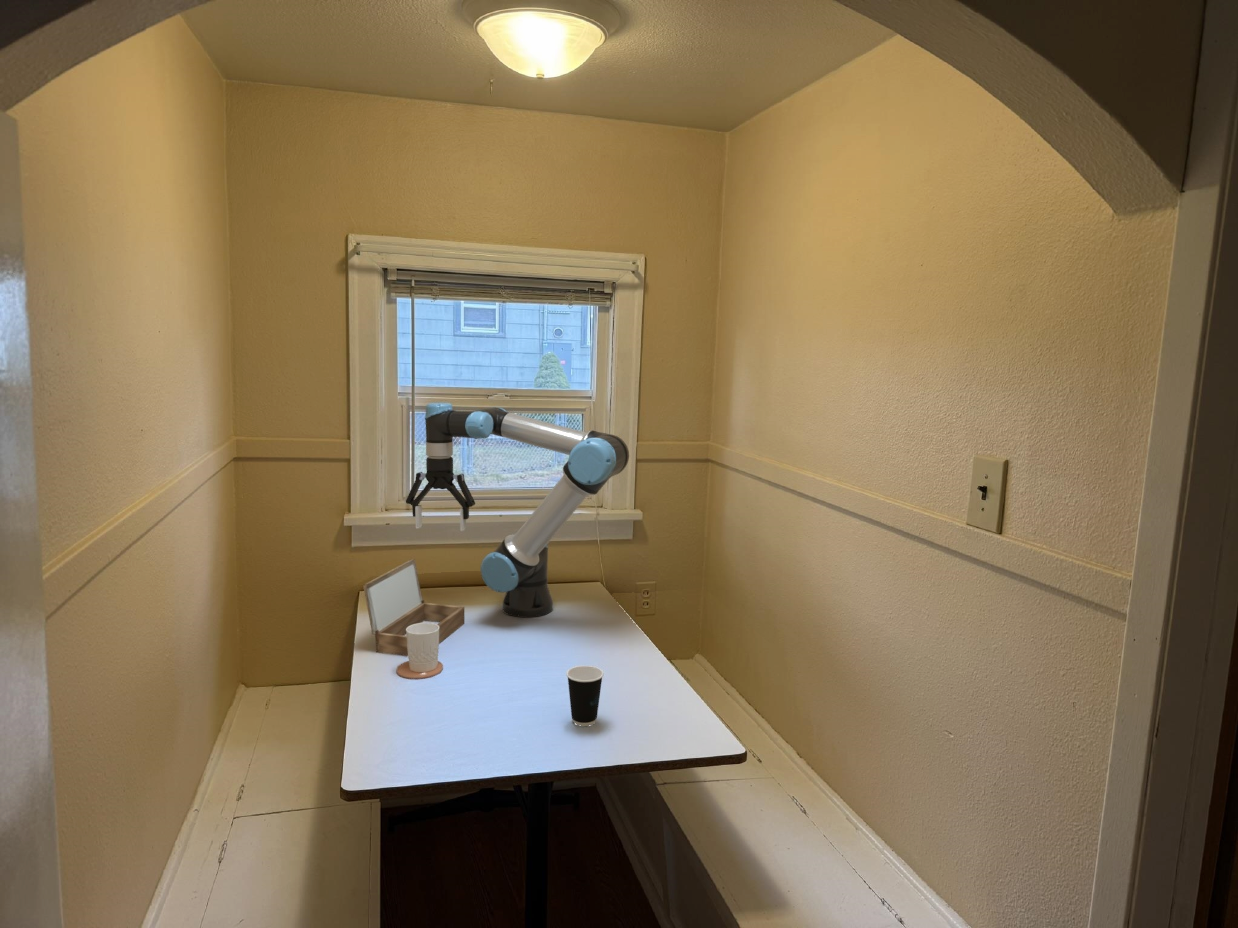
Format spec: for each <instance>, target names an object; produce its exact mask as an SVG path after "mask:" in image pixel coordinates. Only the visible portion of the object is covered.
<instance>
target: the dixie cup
mask: <svg viewBox="0 0 1238 928" xmlns="http://www.w3.org/2000/svg"><path fill="white" fill-rule="evenodd" d="M565 674H566V677H567V684H568V693H569V703H570V705H569V706H570V714H571V719H572V723H573V722H574V723H576V724H577V725H581V726H588V727H590V726H589V725H592V724H594V723H596V720H597V717H598V713H599V706H600V705H599V704H600V697H601V688H602V682H603V681H602V679H603V677H604V674H605V673H604V671H603V670H602V669H601V668H599V667H597V666H594V665H577V666H573V667H571V668H568V669H567V671H566V673H565ZM574 723H573V724H574ZM577 725H576V726H577ZM594 725H595V724H594ZM592 726H593V725H592Z"/></svg>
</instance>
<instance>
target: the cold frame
mask: <svg viewBox="0 0 1238 928" xmlns="http://www.w3.org/2000/svg"><path fill="white" fill-rule="evenodd" d="M424 622H431V623H433V622H434V623H437V625H438V626H439V645H440V644H441V643H442V642H444V641H445V640H446V639H447V638H449V637H450V636H451V635H453V634H454V633H455V632H456V631H457V630H459V629H460V628H461V627H462V626H463V625H465V622H466V621H465V606H459V605H450V604H442V603H441V604H439V603H430V602H425V599H422V603H421V604H420V605H418V606H417V607H415V608H414V609H412V610H411V611H409V612H408V613H406V614H404V615H403V616H401V617H400V618H398V619H397V620H395V621H394V622H392V623H391V624H389V625H388V626H386V627H385V628H383V629H382V630H380V631H379V630H376V631H375V634H374V635H375V636H374V637H375V639H374V640H375V653H379V654H389V655H393V656H394V655H397V656H405V657H408V650H407V636H406V628H407V627H408V626H410V625H413V624H417V623H424Z"/></svg>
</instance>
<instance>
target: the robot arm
mask: <svg viewBox="0 0 1238 928" xmlns="http://www.w3.org/2000/svg"><path fill="white" fill-rule="evenodd" d="M424 421H425V423H424V424H425V456H427V457H426V459H425V460H426V463H425V465H426V467H425V468H426V473H424V472H423V471H419V472H416V473H415V481H414V483H413V485H412V486H411V489H410V490H409V493H408V495H407V497H406V500H405V504H407V505H408V504H409V505H411V508H412V517H413V518H414V517H415V529H420V528H422V527H423V518H422V517H423V516H422V515H423V514H422V513H423V512H422V511H423V510H422V508H423V507H422V504H420V503H421V502H422V500H423V499H424V498H425V497H426V496H427V494H429V492H430V491H431V489H434V490H436V489H437V490H438V489H440V490H447V491H449V492H450V494H451V495H452V496H453V497H454V499H455V500H456V502H457V503H458V504H459V505H460V507H461V508H459V529H460V530H459V531H460V532H464V531H465V530H467V520H468V519H469V518H470V508H471V507H473V506H475V505H476V502H475V499H474V497H473V495H472V493H471V491H470V489H469V487H468V485H467V482H466V481H465V479H466V478H465V475H464V473H458V474H455V473H454V457H452V456H453V455H454V446H453V445H454V443H453V441H454V440H453V439H454V438H464V439H466V438H467V439H474V440H478V439H480V440H481V439H487V438H489V437H490V436H491V435H494V436H497V437H501V438H506V439H509V440H513V441H516V442H520V443H523V444H527V445H529V446H530V445H532V446H535V447H538V448H542V449H546V450H550V451H553V452H557V453H561V454H564V455H568V459H567V462H566V463H565V464H564V465H563V467H562V473H563V475H562V476H561V478H560V479H559V480H558V481H557V483H556V484H555V485H554V487H553V488H552V489H551V490H550V491H549V492H548V494H547V495H546V496H545V498H544V499H543V500H542V501H541V503H539V505H538V506H537V507H536V508H535V509H534V511H533V512H532V513H531V514H530V516H529V517H528V518H527V520H526V521H525V522H524V523H523V524H522V526H521V527H520V528H519V529H518V531H516V533H513V534H509V535H506V537H505V538H504V539H503V540H502V542H501V543H500V544H499V545H498V546H497V548H496V549H495V550H494V551H493V552H490V553H488V554H487V555H486V556H485V557H484V558H483V560H482V561H481V565H480V574H481V575H480V576H481V578H482V580H483V583H484V584H485V585H486V586H487V587H488V588H489V589H490V590H491V591H494V592H496V593H505V594H504V597H503V601H502V612H503V613H504V614H506V615H510V616H512V617H519V618H535V617H540V616H545V615H547V614H549V613H551V612H552V611H553V610H554V607H553V606H554V601H553V597H552V595H551V592H550V589H549V586H548V585H549V584H548V561H549V560H548V557H549V551H548V550H549V547H548V545H549V542H551V540H552V539H553V537H554V536H555V535H557V533H558V532H559V531H560V529H561V528H562V527H563V526H564V524H565V523H566V522H567V521H568V519H569V518H570V517H572V515H573V514H574V513H575V512H576V510H577V509H578V508H579V506H580V505H581V504H582V503H583V502H584V501H585V500H586V498H587V497H589V496H595V495H597V494H598V493H599V491H601V489H602V488H603V487H604V486H605V484H606V483H607V482H608V481H609V480H610V478H612V477H615V476H617V475H619V474H620V473H622V472H623V471H624V470H625V468H626V467H627V465H628V463H629V458H630V450H629V447H628V445H627V443H626V441H624V440H623V439H622V438H620V436H618V435H615V434H611V433H606V432H600V431H595V430H592V429H591V430H589V431H588V432H587V431H582V430H578V429H574V428H571V427H567V426H563V425H558V424H555V423H551V422H547V421H544V420H539V419H536V418H532V417H528V416H524V415H521V414H515V413H512V412H508V411H507V410H505V409H504V408H503V407H495V406H493V407H488V408H483V409H482V408H481V409H475V410H454V409H453V404H452V403H451V402H429V403H427V404H426V405H425V417H424ZM425 479H426V481H427V483H426V485H425V486H424V488H423V489H422V490H421V491H420V493H419V494H418V491H419V489H420V487H421V485H422V482H423V481H424V480H425ZM454 480H455V482H456V483H457V484H458V486H459V488H460V491H461V492H460V491H459V489H457V486H456V485H455V483H454V482H453V481H454ZM461 493H462V494H463V495H462V494H461ZM417 494H418V495H417ZM415 497H416V498H415Z"/></svg>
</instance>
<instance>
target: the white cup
mask: <svg viewBox="0 0 1238 928" xmlns="http://www.w3.org/2000/svg"><path fill="white" fill-rule="evenodd" d="M437 624H438V623H437ZM437 624H436V623H435V622H434V623H433V622H422V623H417V624H413V625H410V626H408V627H407V628H406V634H405V636H407V650H408V656H407V658H408V661H409V668H410V670H412V671H414V672H428V671H432V670H434V669H436V668H437V666H438V661H439V649H440V647H439V646H440V644H439V626H438V625H437Z"/></svg>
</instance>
